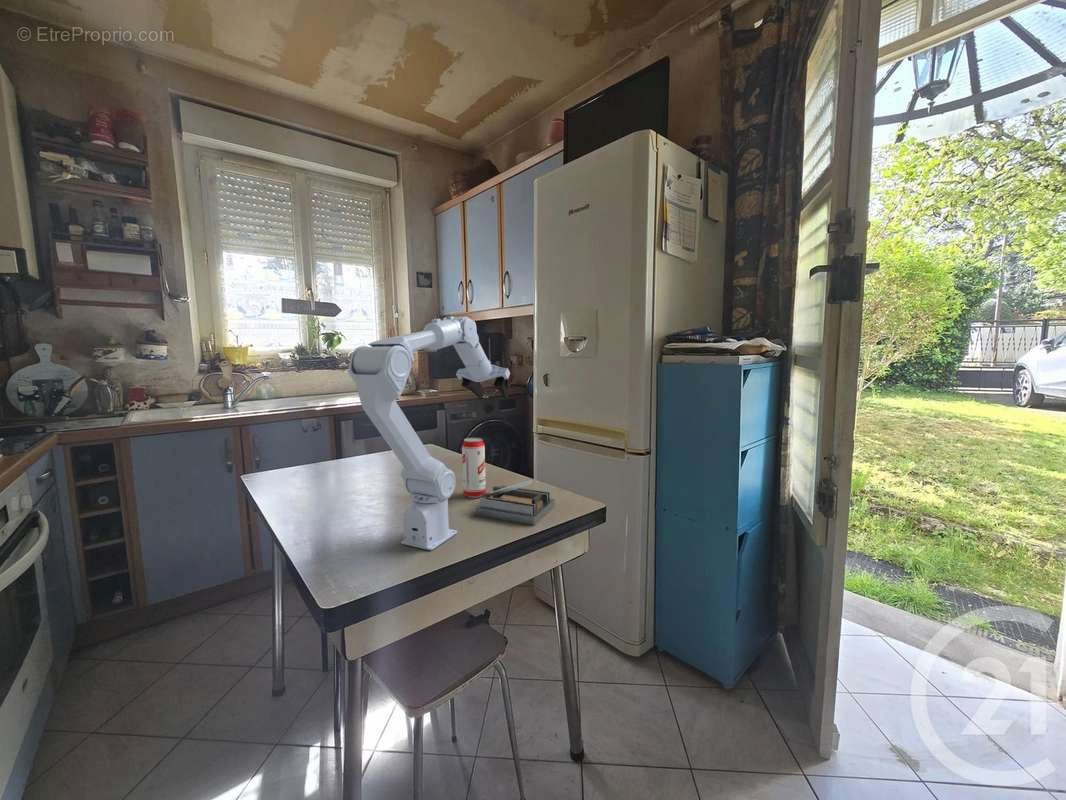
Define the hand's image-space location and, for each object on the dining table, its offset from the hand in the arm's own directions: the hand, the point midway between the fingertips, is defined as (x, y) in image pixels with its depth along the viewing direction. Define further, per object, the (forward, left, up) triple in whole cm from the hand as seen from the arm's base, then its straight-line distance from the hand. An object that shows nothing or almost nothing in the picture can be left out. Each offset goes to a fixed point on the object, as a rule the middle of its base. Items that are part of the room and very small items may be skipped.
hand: (494, 395), depth 114 cm
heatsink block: (-6, -9, -28) cm, 30 cm away
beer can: (0, +7, -29) cm, 29 cm away
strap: (-6, -8, -23) cm, 25 cm away
